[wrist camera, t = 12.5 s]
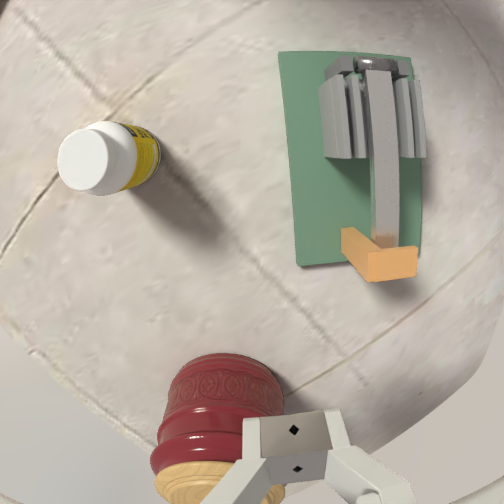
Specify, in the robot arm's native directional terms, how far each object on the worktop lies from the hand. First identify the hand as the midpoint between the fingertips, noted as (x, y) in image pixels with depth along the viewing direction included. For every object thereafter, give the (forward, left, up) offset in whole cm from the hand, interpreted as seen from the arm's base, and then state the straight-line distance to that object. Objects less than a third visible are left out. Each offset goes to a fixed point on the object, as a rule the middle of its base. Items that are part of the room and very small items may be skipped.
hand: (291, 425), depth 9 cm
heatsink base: (-7, +9, -21) cm, 24 cm away
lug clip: (0, +9, -20) cm, 22 cm away
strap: (-7, +9, -16) cm, 20 cm away
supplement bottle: (-9, -11, -21) cm, 25 cm away
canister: (+18, -6, -21) cm, 28 cm away
